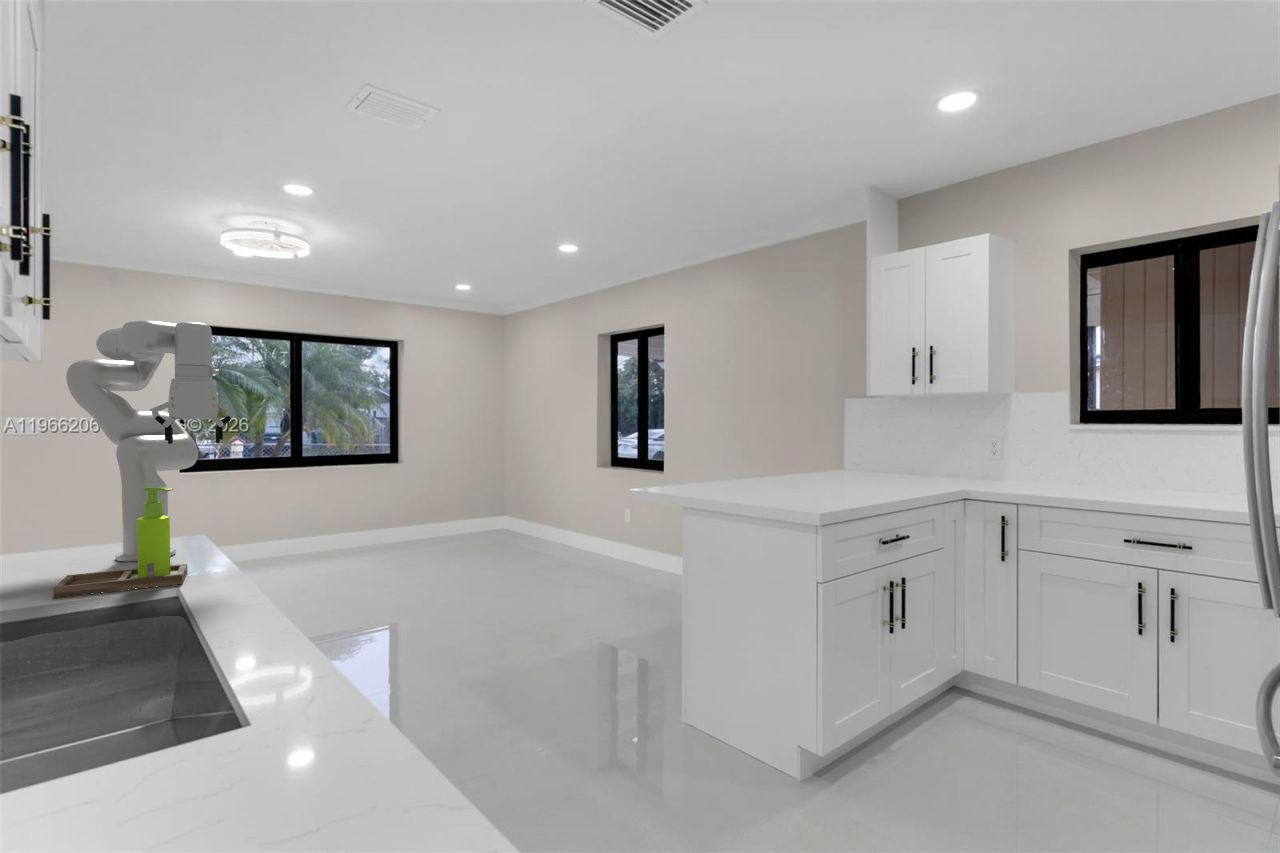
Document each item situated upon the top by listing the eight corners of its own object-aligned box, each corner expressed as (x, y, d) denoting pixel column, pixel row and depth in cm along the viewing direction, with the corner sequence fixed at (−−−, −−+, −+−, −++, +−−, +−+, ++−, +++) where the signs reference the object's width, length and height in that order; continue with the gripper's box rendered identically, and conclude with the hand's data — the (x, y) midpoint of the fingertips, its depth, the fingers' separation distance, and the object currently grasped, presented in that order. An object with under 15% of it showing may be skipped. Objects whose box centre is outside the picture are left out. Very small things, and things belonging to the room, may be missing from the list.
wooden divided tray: (67, 585, 142) (67, 561, 142) (187, 573, 153) (187, 551, 153) (53, 598, 132) (52, 573, 132) (182, 584, 143) (182, 561, 143)
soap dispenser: (162, 579, 143) (160, 488, 142) (131, 579, 143) (129, 488, 142) (181, 572, 149) (179, 485, 148) (151, 572, 149) (149, 485, 148)
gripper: (235, 375, 167) (236, 441, 167) (151, 373, 158) (152, 443, 158) (234, 374, 160) (235, 443, 161) (147, 371, 151) (148, 444, 152)
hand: (194, 443), depth 160 cm, fingers open, 9 cm apart
